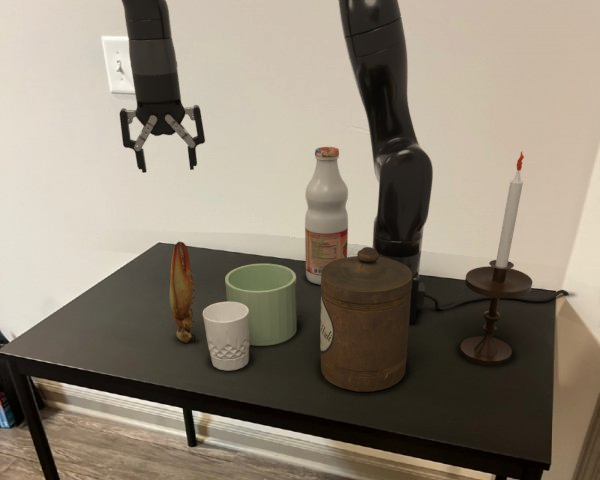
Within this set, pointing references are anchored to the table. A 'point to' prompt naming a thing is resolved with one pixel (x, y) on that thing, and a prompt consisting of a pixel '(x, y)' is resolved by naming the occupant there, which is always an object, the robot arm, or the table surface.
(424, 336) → the table surface
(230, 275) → the crock
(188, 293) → the crab claw
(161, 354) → the table surface
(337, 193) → the fruit juice
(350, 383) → the wooden container
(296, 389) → the table surface
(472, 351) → the candlestick
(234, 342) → the white cup
